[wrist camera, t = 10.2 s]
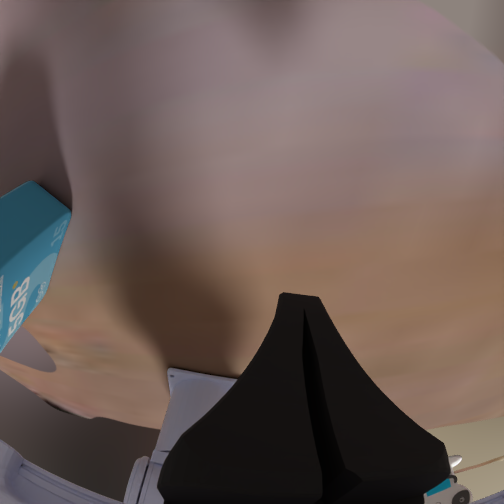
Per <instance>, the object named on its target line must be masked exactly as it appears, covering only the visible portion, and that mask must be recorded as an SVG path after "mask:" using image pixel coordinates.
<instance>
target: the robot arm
mask: <svg viewBox="0 0 504 504" xmlns="http://www.w3.org/2000/svg"><path fill="white" fill-rule="evenodd" d="M167 374H168V382H169V388H170V395H171V398H170V402H169V405H168V408H167V411H166V415H165V418H164V421H163V425H162V428H161V432H160V435H159V438H158V441H157V445H156V448H155V450H154V451H153V454H152V457H151V460H150V461H149V457H146V456H143V457H142V458H139V459H137V460H136V462H135V464H134V467H133V470H132V473H131V476H130V479H129V482H128V486H127V490H126V494H125V498H124V503H122V502H119V501H116V500H113V499H111V498H108V497H105V496H102V495H100V494H97V493H95V492H92V491H90V490H87V489H84V488H82V487H80V486H78V485H75V484H73V483H71V482H69V481H66V480H64V479H62V478H60V477H58V476H56V475H54V474H52V473H49V472H48V471H46V470H44V469H42V468H40V467H38V466H36V465H34V464H32V463H31V462H29V461H27V460H25V459H24V458H23V457H22V456H21V455H20V454H19V453H18V452H17V451H16V450H15V449H13V448H12V447H11V446H9V445H8V444H6V443H5V442H3V441H2V440H0V504H424V503H425V501H424V494H425V493H426V492H428V491H430V490H431V489H433V488H434V487H436V486H438V485H439V484H441V483H442V482H443V481H445V480H446V479H447V478H448V476H449V475H450V473H451V469H450V464H449V459H448V455H447V451H446V448H445V445H444V443H443V442H441V441H440V440H439V439H437V438H436V437H434V436H433V435H431V434H430V433H429V432H427V431H426V430H424V429H423V428H422V427H420V426H419V425H418V424H416V423H415V422H414V421H413V420H412V419H411V418H409V417H408V416H407V415H406V414H405V413H403V412H402V411H401V410H400V409H399V408H398V407H397V406H396V405H395V404H394V403H393V402H392V401H391V400H390V399H389V398H388V397H387V396H386V395H385V394H384V393H383V392H382V391H381V390H380V389H379V388H378V387H377V386H376V384H375V383H374V382H373V381H372V380H371V378H370V377H369V376H368V375H367V374H366V372H365V371H364V370H363V368H362V367H361V366H360V364H359V363H358V362H357V360H356V359H355V357H354V356H353V354H352V353H351V352H350V350H349V349H348V347H347V345H346V344H345V342H344V341H343V339H342V337H341V336H340V334H339V332H338V331H337V329H336V327H335V326H334V324H333V322H332V320H331V319H330V317H329V315H328V313H327V311H326V309H325V307H324V305H323V304H322V302H321V300H320V298H319V297H316V296H308V295H300V294H292V293H285V292H283V293H281V294H280V295H279V299H278V304H277V309H276V314H275V317H274V320H273V322H272V324H271V327H270V329H269V331H268V333H267V335H266V337H265V339H264V341H263V342H262V344H261V346H260V348H259V349H258V351H257V353H256V354H255V356H254V357H253V359H252V361H251V362H250V363H249V365H248V366H247V368H246V369H245V370H244V372H243V373H242V374H241V376H240V377H239V378H238V379H232V378H225V377H219V376H213V375H207V374H202V373H196V372H191V371H186V370H181V369H176V368H169V369H168V371H167ZM469 504H504V490H503V491H500V492H498V493H495V494H493V495H490V496H488V497H485V498H483V499H480V500H477V501H474V502H472V503H469Z"/></svg>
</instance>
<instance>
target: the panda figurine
mask: <svg viewBox="0 0 504 504" xmlns="http://www.w3.org/2000/svg"><path fill="white" fill-rule="evenodd" d="M448 459H449V464H450V469H451V473H450V475H449V476H448V478H447V479H446V480H445V481H443V482H442V483H441V484H439V485H438V486H436V487H434V488H433V489H431V490H430V491H428V492H426V493H425V494H424V501H425V503H424V504H469V503H472V500H473V497H472V492H471V491H470V490H469V489H468V488H466V487H465V486H463V485H460V484H457V477H456V476H455V475H454V472H453V469H452V468H453V467H454V466H456V465H457V464H458V463H459V462H460V461H461V460H462V457H461V456H460V455H454V456H449V457H448Z"/></svg>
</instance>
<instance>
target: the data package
mask: <svg viewBox="0 0 504 504" xmlns="http://www.w3.org/2000/svg"><path fill="white" fill-rule="evenodd" d="M70 218H71V211H70V209H68V208H67V207H66V206H65V205H63V204H62V203H61V202H59V201H58V200H57V199H56V198H54V197H53V196H52V195H51V194H49V193H48V192H47V191H46V190H44V189H43V188H42V187H41V186H39V185H38V184H37V183H36V182H34V181H27V182H25V183H23V184H22V185H20V186H18V187H16V188H15V189H13V190H11V191H10V192H8V193H6V194H5V195H3V196H2V197H0V352H1V351H2V350H3V348H4V347H5V346H6V344H7V343H8V341H9V340H10V339H11V338H12V336H13V335H14V334H15V332H16V331H17V330H18V328H19V327H20V326H21V325H22V323H23V322H24V321H25V320H26V318H27V317H28V316H29V315H30V313H31V312H32V311H33V310H34V309H35V307H36V306H37V305H38V304H39V302H40V301H41V300H42V298H43V297H44V295H45V293H46V291H47V289H48V286H49V282H50V279H51V275H52V272H53V269H54V265H55V262H56V259H57V256H58V253H59V250H60V247H61V244H62V241H63V238H64V235H65V232H66V230H67V227H68V224H69V221H70Z"/></svg>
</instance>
